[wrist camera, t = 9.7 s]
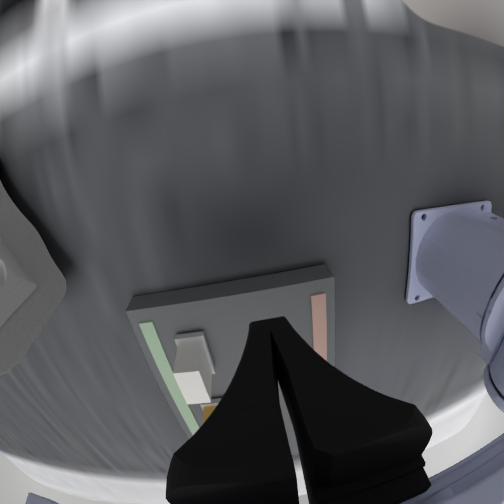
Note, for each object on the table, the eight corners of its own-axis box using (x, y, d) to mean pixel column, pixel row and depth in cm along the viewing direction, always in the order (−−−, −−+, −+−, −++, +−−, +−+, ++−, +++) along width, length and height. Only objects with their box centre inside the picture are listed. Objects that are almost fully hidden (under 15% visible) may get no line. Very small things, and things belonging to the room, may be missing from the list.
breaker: (203, 331, 19) (200, 366, 16) (215, 368, 21) (215, 404, 17) (175, 334, 19) (168, 370, 16) (189, 372, 21) (185, 407, 17)
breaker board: (325, 264, 21) (335, 277, 19) (325, 434, 29) (329, 448, 27) (133, 296, 21) (124, 312, 19) (206, 452, 29) (205, 467, 27)
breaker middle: (224, 397, 22) (225, 431, 19) (233, 421, 23) (234, 453, 20) (200, 400, 22) (198, 434, 19) (211, 424, 23) (210, 455, 20)
